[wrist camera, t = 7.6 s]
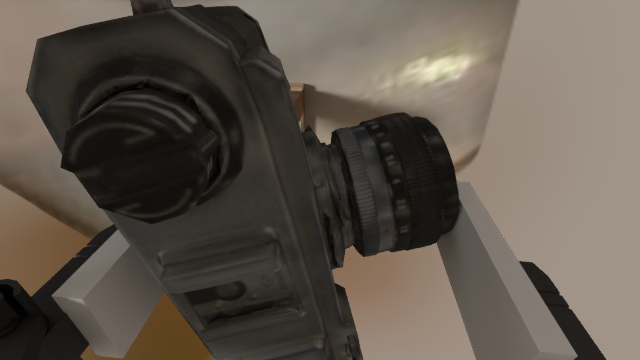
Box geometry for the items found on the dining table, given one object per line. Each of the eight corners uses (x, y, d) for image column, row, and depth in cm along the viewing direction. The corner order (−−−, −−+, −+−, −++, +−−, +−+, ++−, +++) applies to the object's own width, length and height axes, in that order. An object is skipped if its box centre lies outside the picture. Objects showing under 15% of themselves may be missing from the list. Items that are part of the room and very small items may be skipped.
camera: (404, 260, 20) (494, 442, 12) (278, 290, 20) (278, 493, 12) (383, -50, 11) (731, -242, 3) (153, 6, 11) (-264, -1, 3)
